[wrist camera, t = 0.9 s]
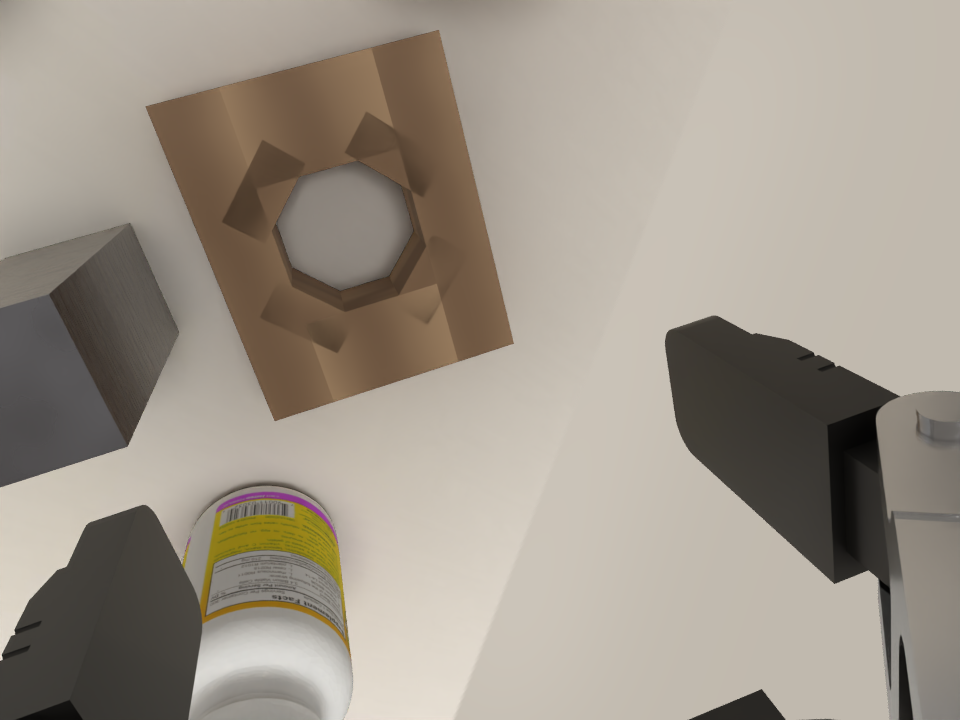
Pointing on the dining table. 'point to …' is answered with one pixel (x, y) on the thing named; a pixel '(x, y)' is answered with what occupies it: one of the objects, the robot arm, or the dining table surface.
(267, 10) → the dining table surface
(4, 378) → the square bit
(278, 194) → the bore block
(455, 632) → the dining table surface
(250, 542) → the supplement bottle
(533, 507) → the dining table surface
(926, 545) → the robot arm
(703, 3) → the dining table surface
